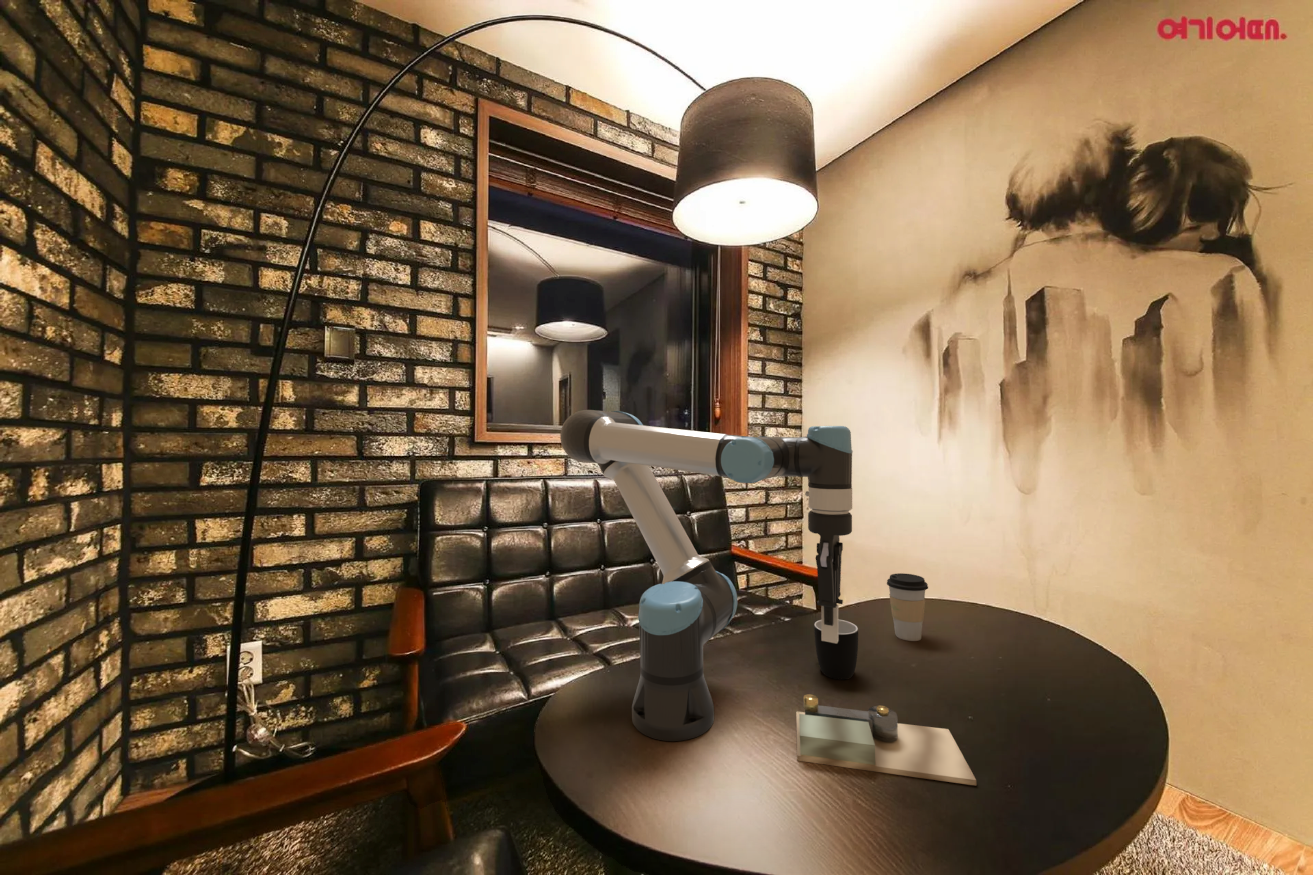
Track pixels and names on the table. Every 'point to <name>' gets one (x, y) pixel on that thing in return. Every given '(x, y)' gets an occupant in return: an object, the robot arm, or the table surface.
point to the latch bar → (859, 717)
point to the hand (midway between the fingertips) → (829, 640)
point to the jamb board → (882, 749)
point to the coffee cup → (907, 604)
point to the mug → (838, 651)
